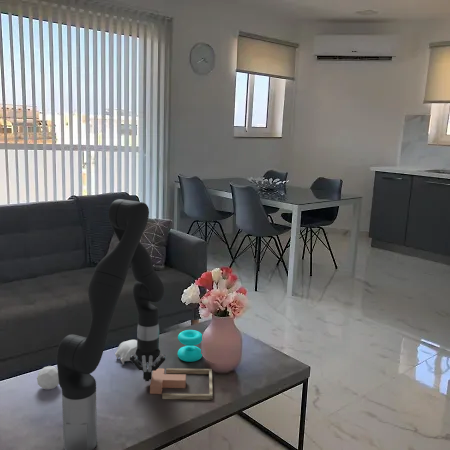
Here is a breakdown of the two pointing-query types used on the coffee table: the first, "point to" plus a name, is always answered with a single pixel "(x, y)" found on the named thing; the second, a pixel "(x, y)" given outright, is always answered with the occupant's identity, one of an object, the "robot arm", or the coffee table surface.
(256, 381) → the coffee table surface
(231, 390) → the coffee table surface
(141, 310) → the robot arm
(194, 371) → the frame
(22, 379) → the coffee table surface
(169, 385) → the t piece
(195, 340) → the donuts
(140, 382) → the coffee table surface
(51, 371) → the geometric ball
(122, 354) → the white animal figure
